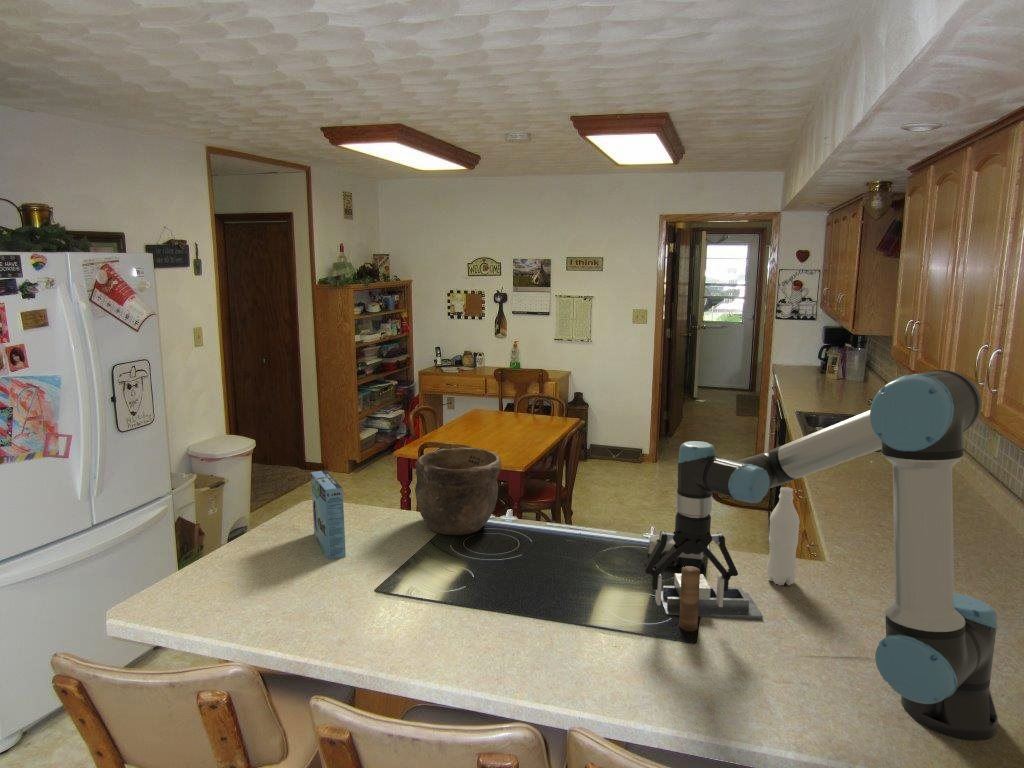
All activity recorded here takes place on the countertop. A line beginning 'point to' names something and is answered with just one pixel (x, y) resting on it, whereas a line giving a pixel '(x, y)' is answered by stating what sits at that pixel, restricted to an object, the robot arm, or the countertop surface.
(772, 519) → the water bottle
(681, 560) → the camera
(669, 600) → the mount
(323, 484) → the blue carton box
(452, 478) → the clay pot
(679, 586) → the white rectangular block
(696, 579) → the dowel peg
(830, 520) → the countertop surface
